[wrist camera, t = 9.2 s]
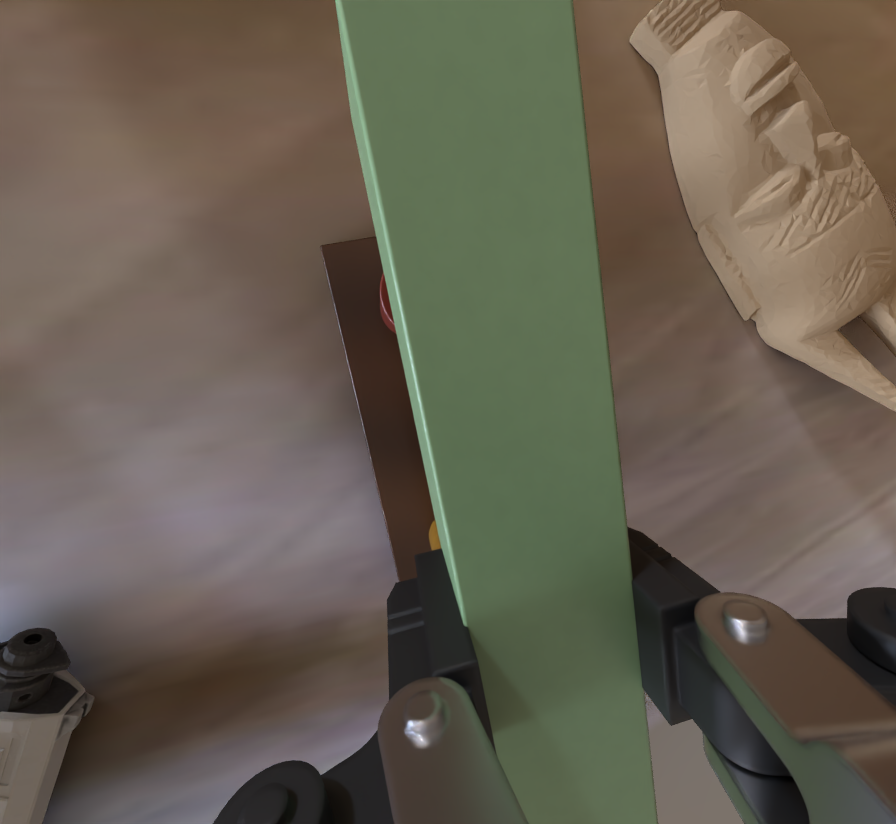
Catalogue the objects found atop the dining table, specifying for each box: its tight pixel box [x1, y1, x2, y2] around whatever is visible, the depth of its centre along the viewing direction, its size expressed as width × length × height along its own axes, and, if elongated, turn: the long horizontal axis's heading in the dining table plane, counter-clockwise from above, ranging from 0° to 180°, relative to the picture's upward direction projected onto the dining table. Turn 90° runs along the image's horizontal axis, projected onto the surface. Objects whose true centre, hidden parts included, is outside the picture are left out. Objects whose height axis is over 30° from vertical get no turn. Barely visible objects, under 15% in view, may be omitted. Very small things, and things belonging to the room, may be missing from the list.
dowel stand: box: [320, 237, 441, 582], centre depth 21 cm, size 22×8×10 cm, turn 11°
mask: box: [630, 0, 896, 411], centre depth 25 cm, size 10×5×30 cm
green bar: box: [335, 0, 658, 824], centre depth 9 cm, size 20×3×3 cm, turn 11°
